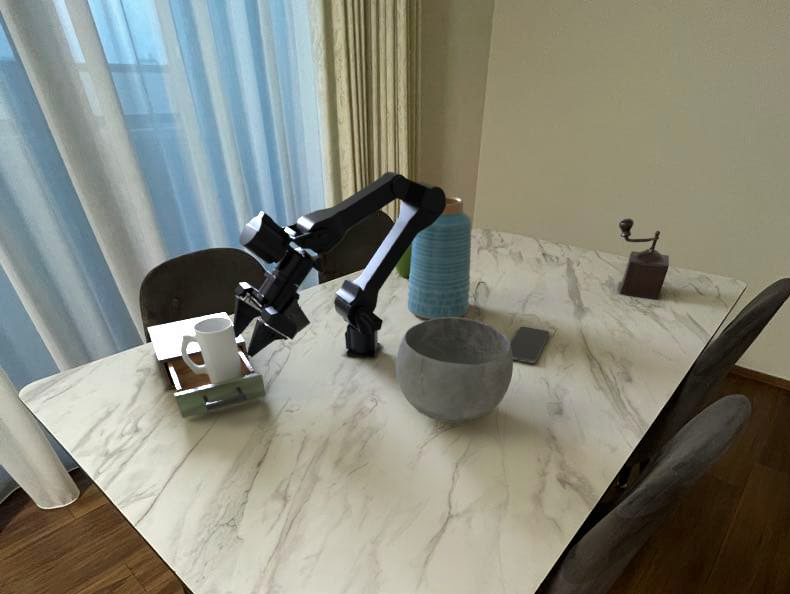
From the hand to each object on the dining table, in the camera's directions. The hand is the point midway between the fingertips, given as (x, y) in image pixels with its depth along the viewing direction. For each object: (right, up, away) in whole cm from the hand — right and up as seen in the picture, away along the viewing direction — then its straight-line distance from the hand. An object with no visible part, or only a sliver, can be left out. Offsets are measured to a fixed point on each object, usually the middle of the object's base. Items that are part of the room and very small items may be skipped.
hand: (241, 346), depth 91 cm
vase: (+40, +17, +35) cm, 56 cm away
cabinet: (-13, -1, +12) cm, 18 cm away
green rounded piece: (+32, +33, +55) cm, 72 cm away
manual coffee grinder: (+98, +27, +48) cm, 112 cm away
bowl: (+40, -13, -1) cm, 42 cm away
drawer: (-5, -9, +1) cm, 10 cm away
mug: (-5, -7, +2) cm, 9 cm away
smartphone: (+60, +4, +19) cm, 63 cm away
